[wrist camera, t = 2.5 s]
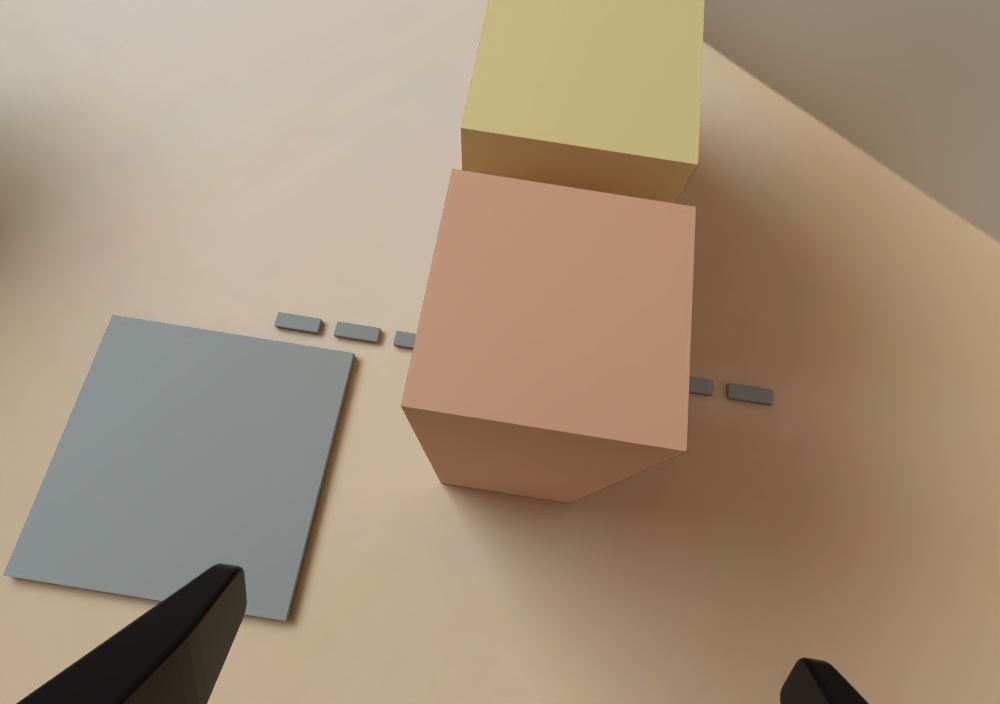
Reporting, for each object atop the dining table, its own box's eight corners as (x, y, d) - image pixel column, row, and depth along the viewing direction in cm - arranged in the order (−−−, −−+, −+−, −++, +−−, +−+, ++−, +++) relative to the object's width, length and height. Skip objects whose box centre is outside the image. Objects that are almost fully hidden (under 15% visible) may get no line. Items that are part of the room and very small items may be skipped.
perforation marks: (770, 405, 23) (772, 404, 23) (276, 327, 23) (274, 325, 23) (769, 391, 23) (772, 390, 23) (280, 314, 23) (278, 312, 23)
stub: (570, 503, 21) (689, 452, 10) (439, 482, 21) (397, 405, 10) (583, 380, 23) (698, 206, 11) (461, 361, 23) (449, 168, 11)
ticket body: (585, 357, 23) (700, 164, 12) (466, 338, 23) (458, 127, 12) (612, 98, 28) (714, -228, 16) (513, 82, 28) (542, -254, 16)
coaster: (288, 620, 20) (285, 620, 19) (10, 574, 20) (3, 575, 19) (354, 355, 23) (353, 353, 23) (117, 317, 23) (112, 315, 23)
